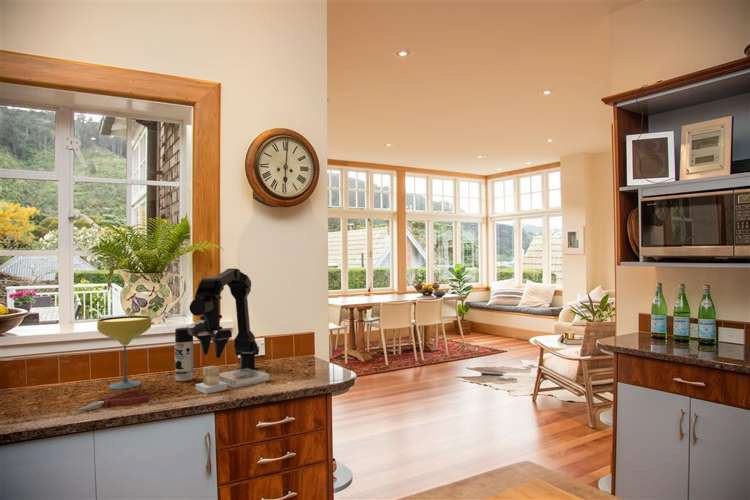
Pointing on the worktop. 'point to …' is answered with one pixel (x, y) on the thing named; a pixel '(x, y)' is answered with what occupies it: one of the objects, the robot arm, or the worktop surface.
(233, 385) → the plate
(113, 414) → the worktop surface
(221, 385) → the soap bar
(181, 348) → the spray can
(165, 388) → the worktop surface
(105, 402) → the pliers
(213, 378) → the peg
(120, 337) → the cocktail glass
